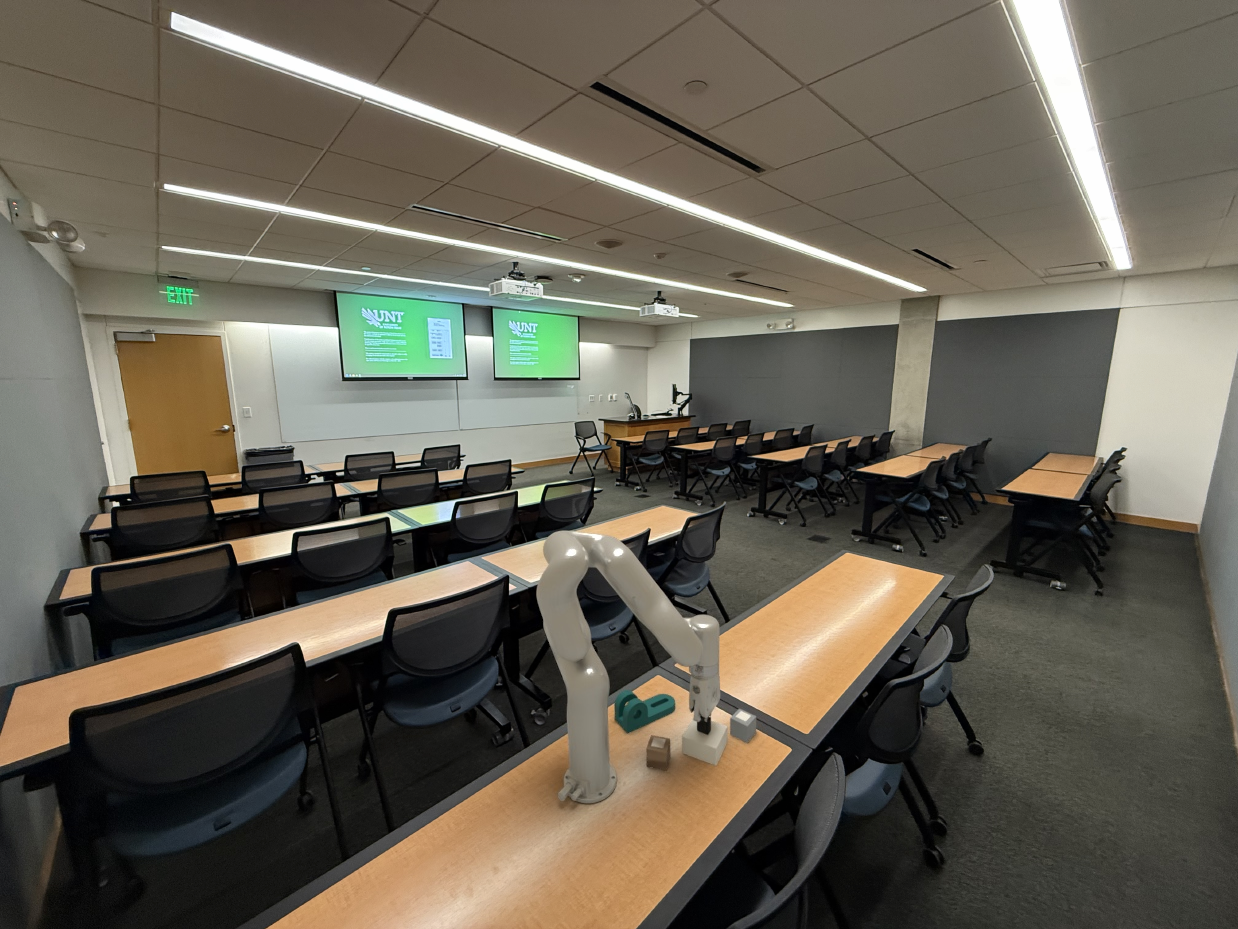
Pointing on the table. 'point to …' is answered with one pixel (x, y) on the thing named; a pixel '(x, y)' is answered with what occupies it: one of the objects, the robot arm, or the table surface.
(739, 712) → the slate block
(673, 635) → the robot arm
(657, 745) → the walnut block
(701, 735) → the plain block
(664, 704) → the bracket
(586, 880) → the table surface
